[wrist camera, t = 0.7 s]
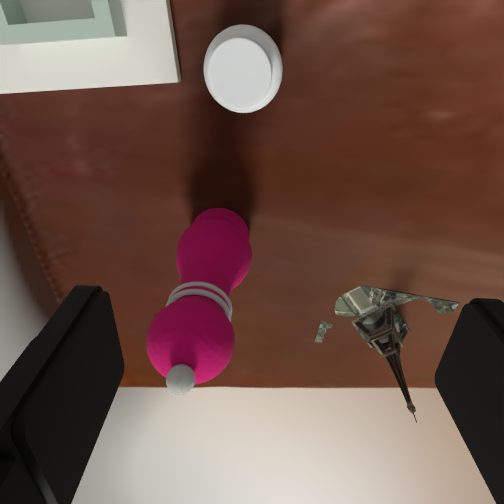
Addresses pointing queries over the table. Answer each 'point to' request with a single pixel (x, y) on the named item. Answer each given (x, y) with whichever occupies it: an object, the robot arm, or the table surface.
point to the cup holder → (85, 44)
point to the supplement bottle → (243, 68)
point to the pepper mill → (201, 301)
